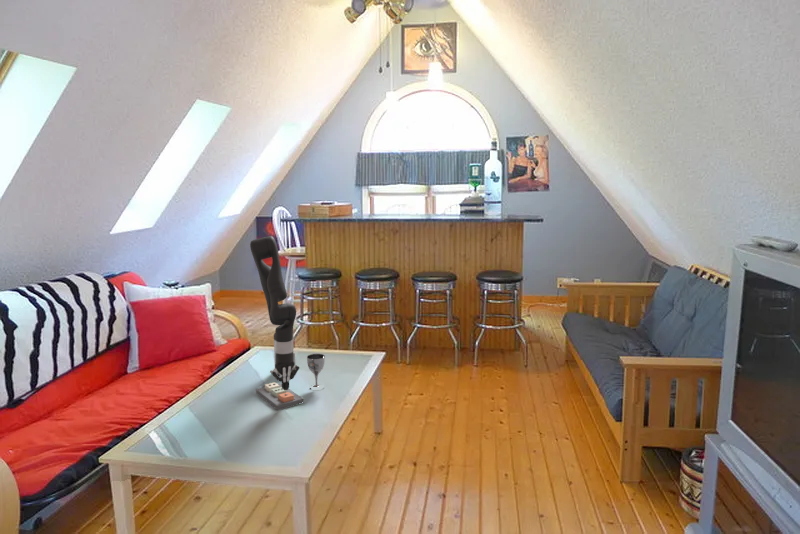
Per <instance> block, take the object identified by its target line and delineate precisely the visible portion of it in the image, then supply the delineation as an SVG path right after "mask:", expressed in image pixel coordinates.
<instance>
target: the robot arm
mask: <svg viewBox="0 0 800 534" xmlns="http://www.w3.org/2000/svg"><path fill="white" fill-rule="evenodd" d="M249 245H250V246H249V247H250V251H251V255H252V258H253V260H254V263H255V266H256V268H257V269H256V270H257V272H258V276H259V281H260V284H261V287H262V292H263V294H264V298H265V301H266V305H267V306H266V307H267V311H268V317H269V321H270V323H271V324H272V325H273V326H277V327H276V328H275V332H274V334H273V350H274V351H273V355H274V368H273V369H272V370H270V372H269V373H270V374H271V375H272V376H273V377H274V378H275V380H277V381H279V382H280V383H281V384H282V389H283V390H288V388H289V389H290V381H291V380H293V379H294V378H295V376H296V375H297V373H298V371H299V370H300V366H298V365H296V353H295V351H294V324H295V320H296V316H297V308H296V305H294V304H293V302H288V303H281V304H279V303H280V302H282V301H285V300H286V299H287V298H288V293H287V289H286V286H285V283H284V279H283V278H284V277H283V272H282V265H281V260H280V254H279V250H278V244H277V242H276V240H275V238H274V237H273V236H272V235H269V236H265V237H260V238H256V239H253V240H251V241H250V243H249ZM270 258H272V259H271V261H272V263H271V266H270V265H268V264H266V263H265V261H264V260H266V259H270Z"/></svg>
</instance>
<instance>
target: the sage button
mask: <svg viewBox="0 0 800 534" xmlns="http://www.w3.org/2000/svg"><path fill="white" fill-rule="evenodd" d="M286 392H287V390H283V389H282V387H280V388H275V389H272V395H273V396H275V397H279V394H283V393H286Z"/></svg>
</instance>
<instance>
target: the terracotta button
mask: <svg viewBox="0 0 800 534" xmlns="http://www.w3.org/2000/svg"><path fill="white" fill-rule="evenodd" d="M279 400H280V401H282V402H283V403H284V402H288V401H292V400H294V395H293V394H291V393H290V392H286V393H283V394H279Z"/></svg>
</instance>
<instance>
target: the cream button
mask: <svg viewBox="0 0 800 534" xmlns="http://www.w3.org/2000/svg"><path fill="white" fill-rule="evenodd" d="M278 384H279V383H277V382H276V381H275V382H270V383H266V384H264V387H265V390H267V391H268V392H272V389H275V388H280V386H279V385H278Z"/></svg>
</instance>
